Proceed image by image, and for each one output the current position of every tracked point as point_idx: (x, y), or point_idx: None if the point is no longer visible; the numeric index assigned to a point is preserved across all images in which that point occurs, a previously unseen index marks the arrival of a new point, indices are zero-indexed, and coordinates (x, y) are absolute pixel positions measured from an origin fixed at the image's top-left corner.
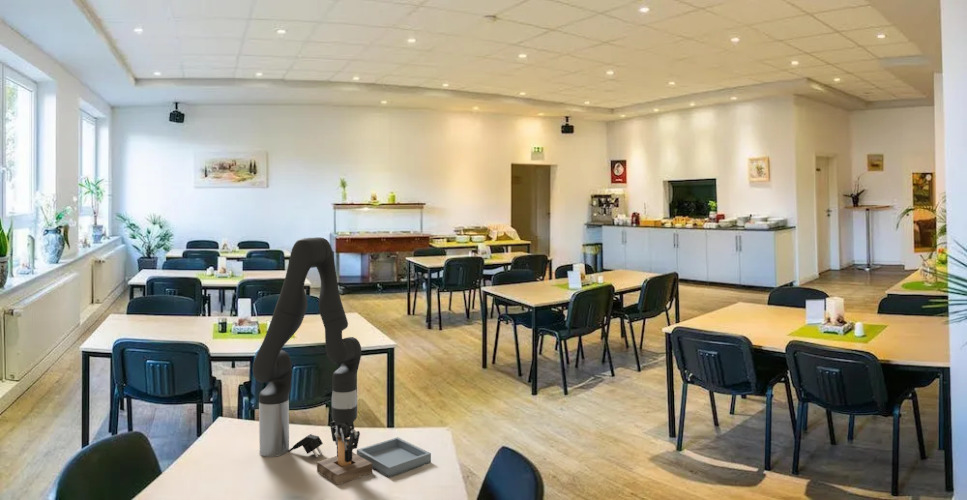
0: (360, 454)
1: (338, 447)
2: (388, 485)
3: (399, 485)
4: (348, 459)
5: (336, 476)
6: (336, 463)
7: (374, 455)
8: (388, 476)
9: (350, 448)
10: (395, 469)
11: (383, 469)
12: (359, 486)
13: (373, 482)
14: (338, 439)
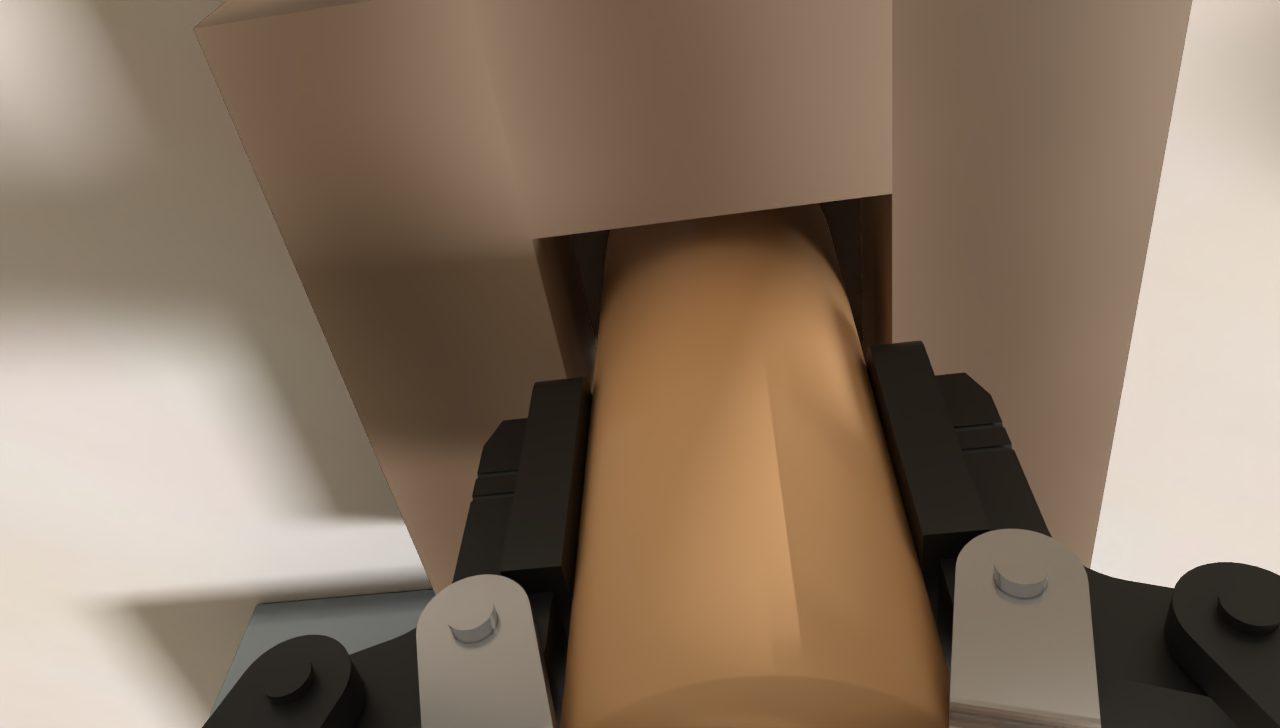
0: None
1: (757, 516)
2: (31, 529)
3: (2, 605)
4: (490, 448)
5: (242, 7)
6: (886, 242)
7: None
8: (266, 609)
9: (222, 707)
10: None
11: (357, 646)
12: (97, 252)
13: (176, 438)
14: (948, 723)
